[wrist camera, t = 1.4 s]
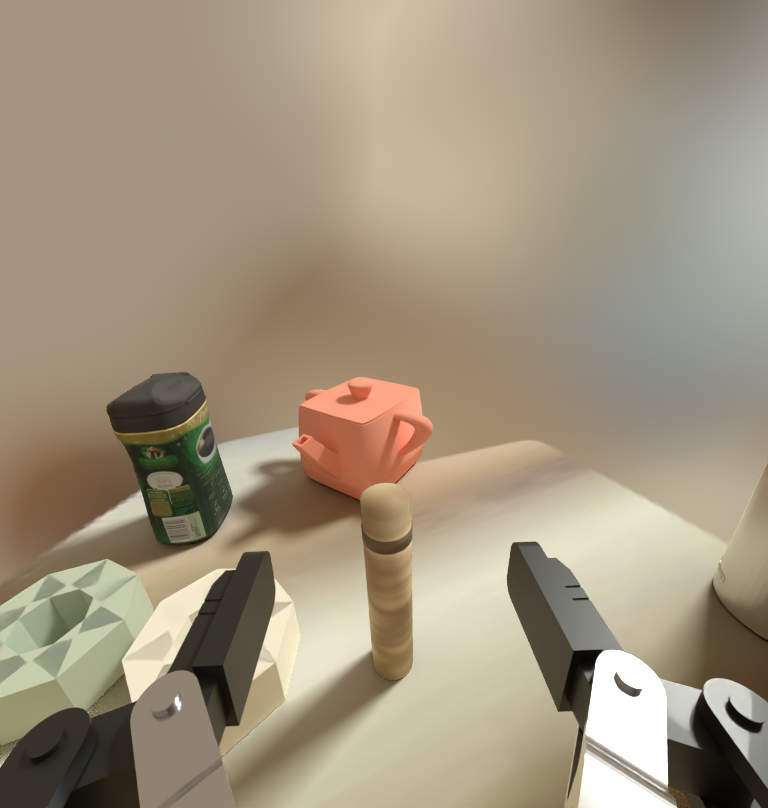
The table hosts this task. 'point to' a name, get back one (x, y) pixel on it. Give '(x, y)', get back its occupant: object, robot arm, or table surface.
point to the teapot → (361, 434)
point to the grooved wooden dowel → (389, 576)
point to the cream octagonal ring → (171, 628)
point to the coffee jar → (173, 456)
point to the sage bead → (66, 642)
